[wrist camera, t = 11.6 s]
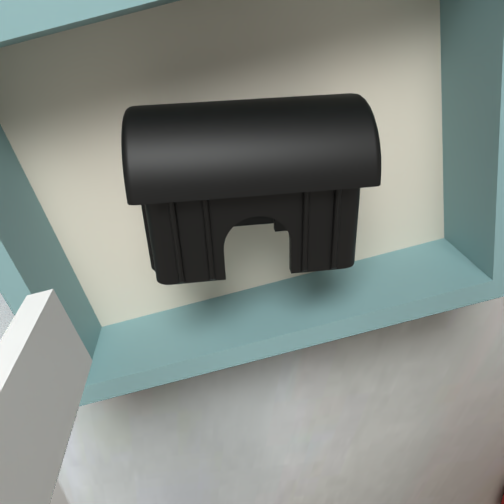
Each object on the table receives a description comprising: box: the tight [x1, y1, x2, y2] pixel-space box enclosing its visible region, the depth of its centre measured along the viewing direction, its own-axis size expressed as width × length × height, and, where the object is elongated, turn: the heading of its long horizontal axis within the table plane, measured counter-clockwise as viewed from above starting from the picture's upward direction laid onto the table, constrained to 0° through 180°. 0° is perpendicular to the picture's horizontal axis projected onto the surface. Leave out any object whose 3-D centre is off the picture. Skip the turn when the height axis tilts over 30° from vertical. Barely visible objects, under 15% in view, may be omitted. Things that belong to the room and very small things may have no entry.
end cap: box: [121, 93, 381, 285], centre depth 20 cm, size 10×7×7 cm
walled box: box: [0, 0, 504, 406], centre depth 22 cm, size 24×18×6 cm
